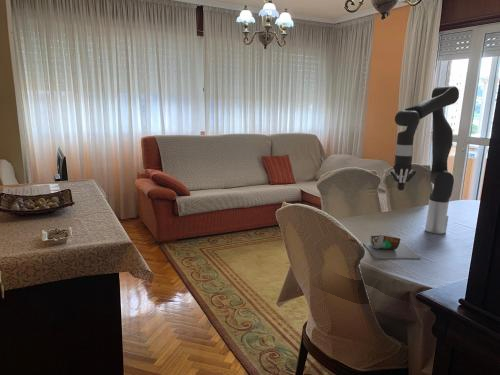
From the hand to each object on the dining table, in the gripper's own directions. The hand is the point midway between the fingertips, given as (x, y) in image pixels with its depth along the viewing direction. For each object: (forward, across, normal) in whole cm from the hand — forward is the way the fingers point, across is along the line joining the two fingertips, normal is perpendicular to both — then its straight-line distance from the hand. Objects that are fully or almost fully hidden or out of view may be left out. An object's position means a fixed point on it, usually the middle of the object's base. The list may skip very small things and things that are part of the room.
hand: (400, 190), depth 177 cm
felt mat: (+26, +8, +13) cm, 30 cm away
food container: (+23, +6, +12) cm, 27 cm away
